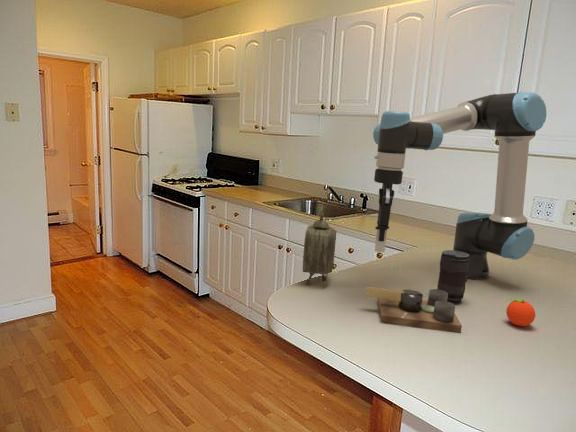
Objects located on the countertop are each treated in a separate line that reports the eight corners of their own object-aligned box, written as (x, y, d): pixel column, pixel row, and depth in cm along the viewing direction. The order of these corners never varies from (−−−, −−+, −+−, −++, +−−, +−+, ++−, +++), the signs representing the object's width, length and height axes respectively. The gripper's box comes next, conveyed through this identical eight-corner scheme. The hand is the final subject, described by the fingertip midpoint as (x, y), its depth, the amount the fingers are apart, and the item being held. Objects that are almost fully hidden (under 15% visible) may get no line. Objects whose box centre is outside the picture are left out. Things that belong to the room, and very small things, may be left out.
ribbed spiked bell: (306, 272, 147) (312, 201, 142) (332, 275, 146) (339, 204, 141) (301, 286, 133) (306, 208, 128) (329, 289, 132) (336, 211, 127)
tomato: (496, 322, 115) (500, 297, 114) (505, 316, 120) (509, 292, 119) (528, 333, 110) (533, 307, 108) (536, 326, 115) (541, 301, 113)
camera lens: (440, 293, 135) (446, 248, 132) (466, 300, 130) (473, 253, 127) (431, 299, 129) (437, 252, 126) (458, 307, 124) (465, 258, 121)
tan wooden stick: (419, 304, 118) (421, 290, 117) (422, 312, 112) (424, 298, 112) (365, 298, 120) (366, 284, 119) (365, 306, 114) (367, 291, 114)
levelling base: (448, 309, 122) (451, 290, 121) (460, 333, 107) (464, 310, 106) (377, 301, 125) (380, 282, 123) (380, 322, 110) (383, 301, 109)
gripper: (374, 166, 123) (365, 244, 128) (376, 169, 111) (366, 255, 115) (400, 168, 122) (390, 247, 126) (405, 171, 110) (394, 258, 114)
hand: (379, 251), depth 121 cm, fingers closed
